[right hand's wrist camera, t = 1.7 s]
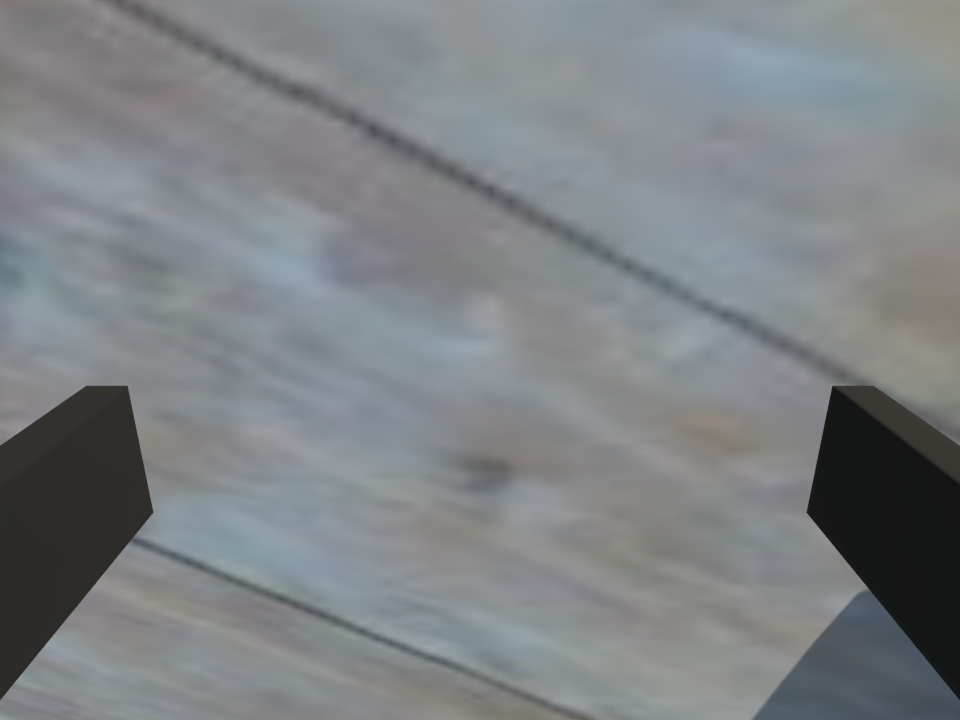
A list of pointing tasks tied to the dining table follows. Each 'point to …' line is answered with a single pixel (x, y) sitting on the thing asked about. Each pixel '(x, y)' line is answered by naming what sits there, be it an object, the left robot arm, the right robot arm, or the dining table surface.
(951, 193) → the dining table surface
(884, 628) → the dining table surface
